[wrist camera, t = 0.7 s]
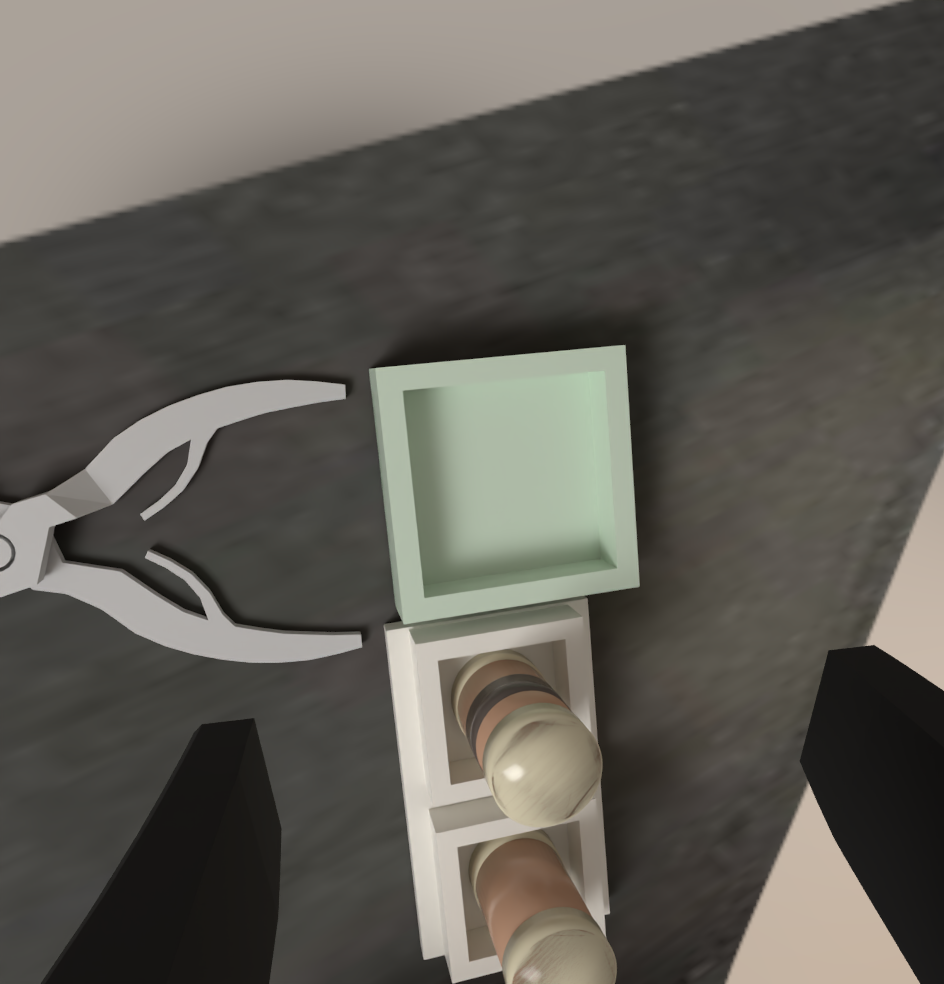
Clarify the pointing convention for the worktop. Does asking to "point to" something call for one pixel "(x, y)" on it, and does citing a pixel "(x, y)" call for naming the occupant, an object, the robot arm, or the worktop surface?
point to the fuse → (537, 914)
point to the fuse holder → (459, 779)
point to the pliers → (31, 522)
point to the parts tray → (506, 480)
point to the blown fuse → (525, 739)
